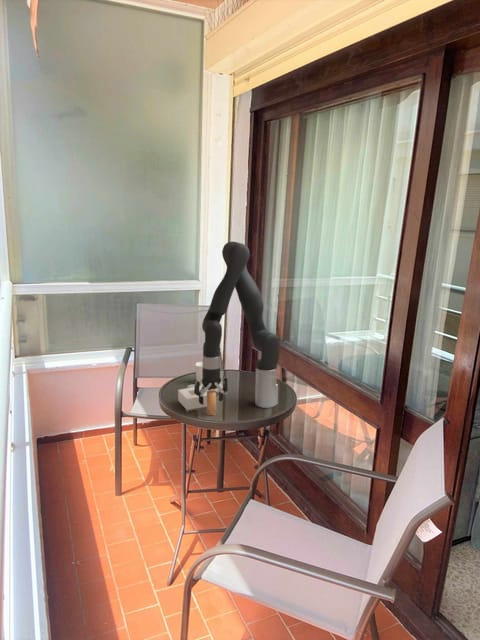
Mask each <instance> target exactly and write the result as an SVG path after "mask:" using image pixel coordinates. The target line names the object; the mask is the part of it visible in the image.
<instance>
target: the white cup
mask: <svg viewBox="0 0 480 640" xmlns="http://www.w3.org/2000/svg"><path fill="white" fill-rule="evenodd" d="M195 378H196V379H195V381H196V380H197V381H202V361H198V362H196V363H195Z"/></svg>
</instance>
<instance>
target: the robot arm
mask: <svg viewBox="0 0 480 640" xmlns="http://www.w3.org/2000/svg"><path fill="white" fill-rule="evenodd" d="M221 253H222V258H223V261H224V263H225V265H226V267H227V268H226V271H225V274H224V276H223V277H222V280H221V281H220V283H219V284H218V285H217V288H215V291H214V292H213V295H212V298H211V302H210V305H209V308H208V310H207V312H206V313H205V316H204V318H203V320H202V324H201V325H202V331H203V332H204V335H205V336H204V342H203V345H202V346H203V347H202V360H201V362H202V381H197V380H196V379H195V380H194V384H195V388H194V393H195V394H196V395H197V396H199V403H200V404H201V405H203V395H204V393H205V392H206V391H207V390H211V389H216V388H217V389H218V390H219V395H218V401H219V402H223V400H224V394H223V393H224V392H225V391H227V392H228V391H229V388H228V378H227V377H225V376H222V377H221V365H222V363H221V342H222V336H223V328H222V324H221V323H220V322H221V320H222V317H223V316H224V315H225V314H226V312H227V311H228V307H229V304H230V301H231V299H232V295H233V293H234V290H236V294H237V297H238V301H239V303H240V305H241V309H242V311H243V314H244V316H245V320H246V322H247V325H248V328H249V333H250V336H251V337H250V338H251V342H252V345H253V347H254V348H255V349H256V350H257V351H259V352H261V354H260V355H261V358H259V359H257V360H256V361H255V397H254V399H255V400H254V401H255V402H254V403H255V406H257V407H259V408H267V409H268V408H269V409H270V408H273V407H275V406H277V405H278V404H279V403H278V402H279V384H278V383H277V377H278V376H277V375H278V374H277V373H278V372H277V369H278V368H277V367H278V363H279V359H280V358H279V357H280V348H281V346H280V345H281V343H280V338H279V336H278V335H276V333H272V332H269V331H268V330H267V328H266V326H265V323H264V318H263V313H264V301H263V298H262V295H261V291H260V289H259V287H258V286H257V283H256V281H254V279H253V278H252V276H251V274H250V273H249V271H248V269H247V264H248V261H249V259H250V256H251V255H250V250H249V247H248V246H247V244H244V243H241V242H237V241H228V242H226V243H225V244H224V246H223V248H222V251H221ZM220 383H222V384H223V388H222V389H221V387H220V386H219V384H220ZM201 384H203V386H202V387H201V390H200V391H199V386H201ZM204 388H205V389H204Z"/></svg>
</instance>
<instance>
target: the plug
mask: <svg viewBox="0 0 480 640" xmlns="http://www.w3.org/2000/svg"><path fill="white" fill-rule="evenodd" d="M207 414H208V415H207ZM214 414H216V415H217V395H216V391H215V390H209V391H207V409H206V415H207V416H209V415H214ZM214 416H215V415H214Z"/></svg>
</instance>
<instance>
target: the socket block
mask: <svg viewBox="0 0 480 640" xmlns="http://www.w3.org/2000/svg"><path fill="white" fill-rule="evenodd" d="M201 387H202V386H200V387H199V391H200V390H201ZM194 388H195V387H193V388H187V387H186V388H181V389H177V395H178V397H177V398H178V399H177V401H179V402H180V404H181V405H182V406H183V407H184V408H185V409H186V410H187V411H191V410H196V411H201V410H200V409H202V410H207V409H206V408H207V391H208V390H207V391H206V392H205V393H204V395H203V405H201V404H200V403H199V396H197V395H196V394H195V393H194ZM204 389H205V388H204ZM179 402H178V403H179ZM180 404H179V405H180ZM181 405H180V406H181ZM182 406H181V407H182ZM183 407H182V408H183ZM184 408H183V409H184ZM185 409H184V410H185ZM186 410H185V411H186ZM187 411H186V412H187ZM191 412H192V411H191Z"/></svg>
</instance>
